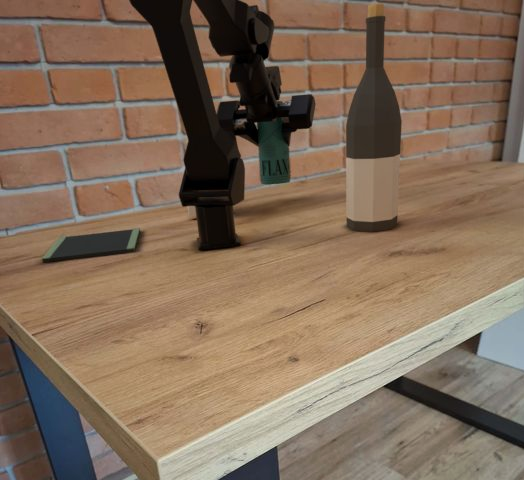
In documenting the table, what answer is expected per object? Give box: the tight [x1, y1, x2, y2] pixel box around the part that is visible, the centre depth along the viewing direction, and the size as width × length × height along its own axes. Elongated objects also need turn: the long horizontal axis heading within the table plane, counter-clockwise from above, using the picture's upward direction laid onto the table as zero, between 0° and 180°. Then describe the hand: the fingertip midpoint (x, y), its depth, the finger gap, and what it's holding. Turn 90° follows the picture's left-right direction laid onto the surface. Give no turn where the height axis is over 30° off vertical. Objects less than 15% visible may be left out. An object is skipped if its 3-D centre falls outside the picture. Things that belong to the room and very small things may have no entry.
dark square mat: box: [41, 227, 141, 263], centre depth 85 cm, size 14×14×1 cm
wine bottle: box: [345, 3, 403, 233], centre depth 76 cm, size 8×8×30 cm
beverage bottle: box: [256, 86, 292, 186], centre depth 102 cm, size 6×7×20 cm
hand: (275, 145), depth 103 cm, fingers closed on beverage bottle, 5 cm apart
